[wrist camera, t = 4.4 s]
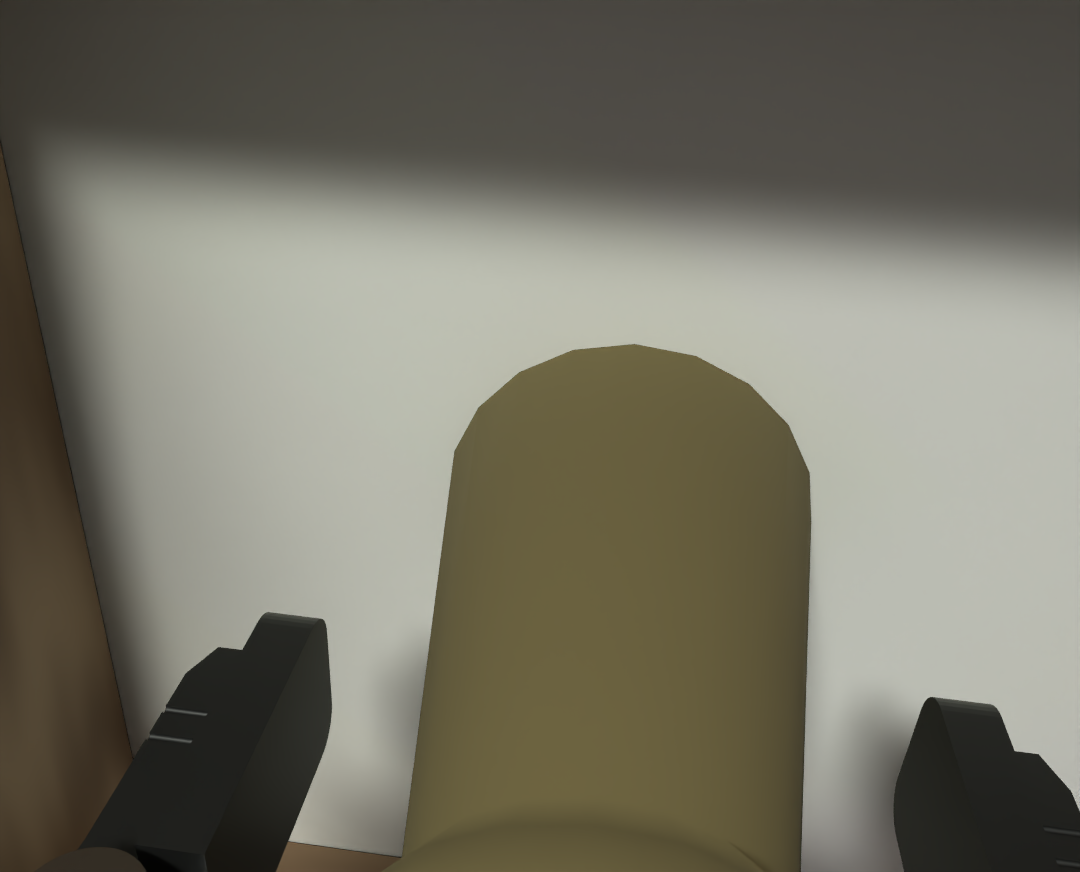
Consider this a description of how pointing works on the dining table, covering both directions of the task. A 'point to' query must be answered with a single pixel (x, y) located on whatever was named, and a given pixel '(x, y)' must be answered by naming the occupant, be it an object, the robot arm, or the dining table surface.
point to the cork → (617, 628)
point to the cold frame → (59, 618)
